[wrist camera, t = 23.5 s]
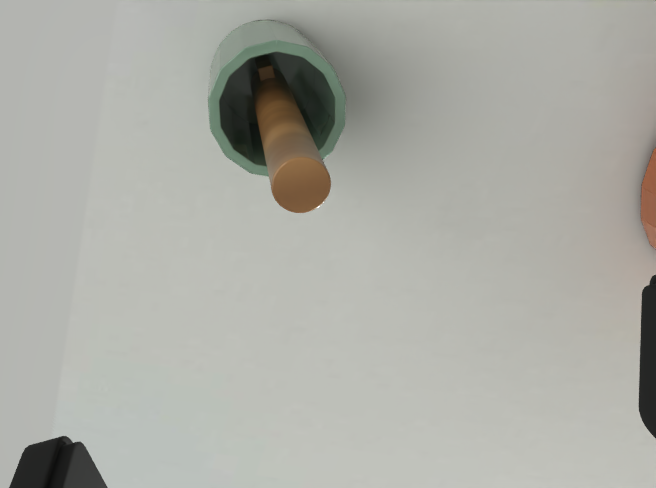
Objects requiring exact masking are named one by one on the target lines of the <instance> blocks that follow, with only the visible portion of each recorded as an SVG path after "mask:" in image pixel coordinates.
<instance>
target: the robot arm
mask: <svg viewBox="0 0 656 488" xmlns="http://www.w3.org/2000/svg"><path fill="white" fill-rule="evenodd" d="M639 412H640V416H641V418H642V421H643V423H644V424H645V426H646V428H647V429H648V430H649V431H650V433H651V434H652V435H653V436H654V437H655V438H656V275H654V276H652V278H651V280H650V285H649V286H646V287H644V289H643V292H642V312H641V346H640V381H639ZM9 488H107V486H106V484H105V482H104V480H103V479H102V477H101V475H100V473H99V471H98V469H97V468H96V466H95V464H94V462H93V460H92V458H91V457H90V455H89V453H88V451H87V449H86V447H85V446H84V445H83V443H81V442H75V443H73V442H72V441H71V440H70V439H69V438H68V437H67V436H62V437H58V438H55V439H51V440H47V441H44V442H40V443H36V444H33V445H29V446H28V447H27V448H25V450H24V452H23V453H22V456H21V459H20V461H19V464H18V467H17V469H16V472H15V474H14V477H13V480H12V482H11V485H10V487H9Z"/></svg>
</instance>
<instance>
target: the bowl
mask: <svg viewBox="0 0 656 488" xmlns="http://www.w3.org/2000/svg"><path fill="white" fill-rule="evenodd" d="M641 220H642V223H643V226H644V229H645V231H646V234H647V237H648V240H649V243H650V244H651V246H652V247H653V248H654V249H655V250H656V147H655V149H654V151H653V153H652V156H651V158H650V161H649V164H648V167H647V170H646V173H645V176H644V179H643V182H642V189H641Z"/></svg>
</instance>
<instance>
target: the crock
mask: <svg viewBox="0 0 656 488" xmlns="http://www.w3.org/2000/svg"><path fill="white" fill-rule="evenodd" d="M263 56H269V59H270V61H271V63H272V66H273V68H275V69H277V70H279V71H280V72H281V73H282V74H283V75H284V77H285V79H286V82H287V84H288V86H289V88H290V90H291V92H292V95H293V97H294V99H295V101H296V103H297V105H298V108H299V110H300V112H301V114H302V116H303V119H304V121H305V123H306V125H307V127H308V129H309V132H310V134H311V136H312V138H313V140H314V142H315V145H316V147H317V149H318V151H319V153H320V156H321V158H322V160H323V159H324V158H325V157H327V156H328V155H329V154H330V153H331V152H332V151H333V149H334V147H335V145H336V143H337V141H338V139H339V137H340V135H341V133H342V131H343V129H344V125H345V106H346V96H345V92H344V90H343V88H342V86H341V84H340V81H339V79H338V77H337V75H336V73H335V70H334V68H333V67H332V65H331V64H330V63H329V62H328V61H327V60H326V59H325V57H324V56H323V55H322V54H321V53H320V52H319V51H318V49H317V48H316V47H315V46H314V45H313V44H312V42H311V41H309V40H308V39H307V38H306V37H304V36H303V35H302V34H301V33H300V32H299V31H297V30H296V29H295V28H294V27H292V26H290V25H287V24H284V23H282V22H277V21H272V20H258V21H253V22H249V23H246V24H244V25H242V26H240V27H238V28H236V29H235V30H233V31H232V32H231V33H230V34H229V35H228V36H227V37H226V38H225V39H224V40H223V41H222V42H221V44H220V45H219V47H218V49H217V51H216V53H215V56H214V59H213V62H212V65H211V68H210V79H209V92H208V108H209V121H210V129H211V132H212V134H213V136H214V137H215V139H216V141H217V142H218V144H219V146H220V148H221V149H222V151H223V153H224V154H225V156H226V157H227V158H229V159H230V160H232V161H233V162H235V163H236V164H237V165H239V166H240V167H242V168H243V169H245V170H246V171H248V172H249V173H252V174H257V175H263V176H269V174H268V169H267V164H266V160H265V155H264V150H263V145H262V140H261V135H260V130H259V125H258V120H257V115H256V110H255V105H254V101H253V96H252V91H251V80H252V77H253V75H254V74H255V73H256V72H257V67H256V64H255V59H256V58H259V57H263Z"/></svg>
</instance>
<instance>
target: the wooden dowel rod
mask: <svg viewBox="0 0 656 488" xmlns="http://www.w3.org/2000/svg"><path fill="white" fill-rule="evenodd" d="M255 64H256V67H257V72H256V73H255V74H254V75H253V77H252V80H251V91H252V96H253V101H254V105H255V110H256V115H257V120H258V125H259V130H260V135H261V140H262V145H263V150H264V155H265V160H266V164H267V169H268V174H269V179H270V184H271V189H272V194H273V196H274V198H275V200H276V201H277V203H278V204H279V205H280V206H281V207H283V208H284V209H286V210H288V211H291V212H295V213H305V212H309V211H312V210H314V209H316V208H318V207H319V206H320V205H321V204H322V203H323V202H324V201H325V200H326V198H327V197H328V194H329V192H330V187H331V180H330V176H329V173H328V171H327V169H326V166H325V164H324V162H323V160H322V158H321V156H320V153H319V151H318V149H317V147H316V145H315V142H314V140H313V138H312V136H311V134H310V132H309V129H308V127H307V125H306V123H305V121H304V119H303V116H302V114H301V112H300V110H299V108H298V105H297V103H296V101H295V99H294V97H293V95H292V92H291V90H290V88H289V86H288V84H287V82H286V79H285V77H284V75H283V74H282V73H281V72H280V71H279V70H277V69H275V68H273V66H272V63H271V61H270V59H269V56H263V57H259V58H256V59H255Z"/></svg>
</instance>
